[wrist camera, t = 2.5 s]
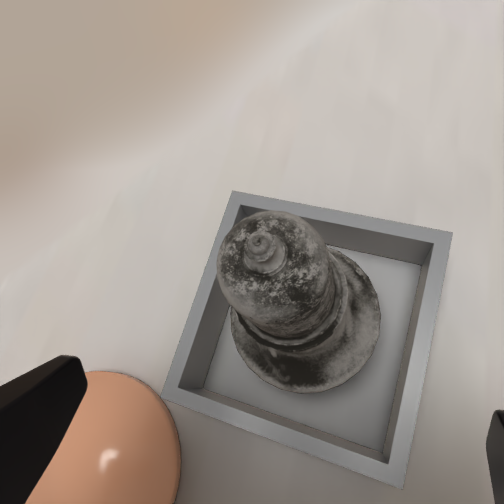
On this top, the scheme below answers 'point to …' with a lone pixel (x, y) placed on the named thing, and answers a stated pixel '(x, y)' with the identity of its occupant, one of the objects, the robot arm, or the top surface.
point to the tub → (413, 362)
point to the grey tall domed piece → (296, 303)
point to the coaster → (114, 448)
